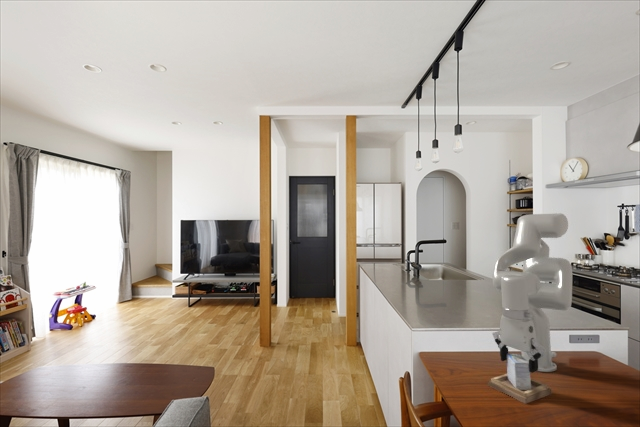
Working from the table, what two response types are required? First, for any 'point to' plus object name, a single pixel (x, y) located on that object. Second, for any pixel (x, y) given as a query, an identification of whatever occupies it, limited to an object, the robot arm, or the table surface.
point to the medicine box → (518, 371)
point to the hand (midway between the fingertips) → (518, 365)
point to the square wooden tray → (523, 396)
